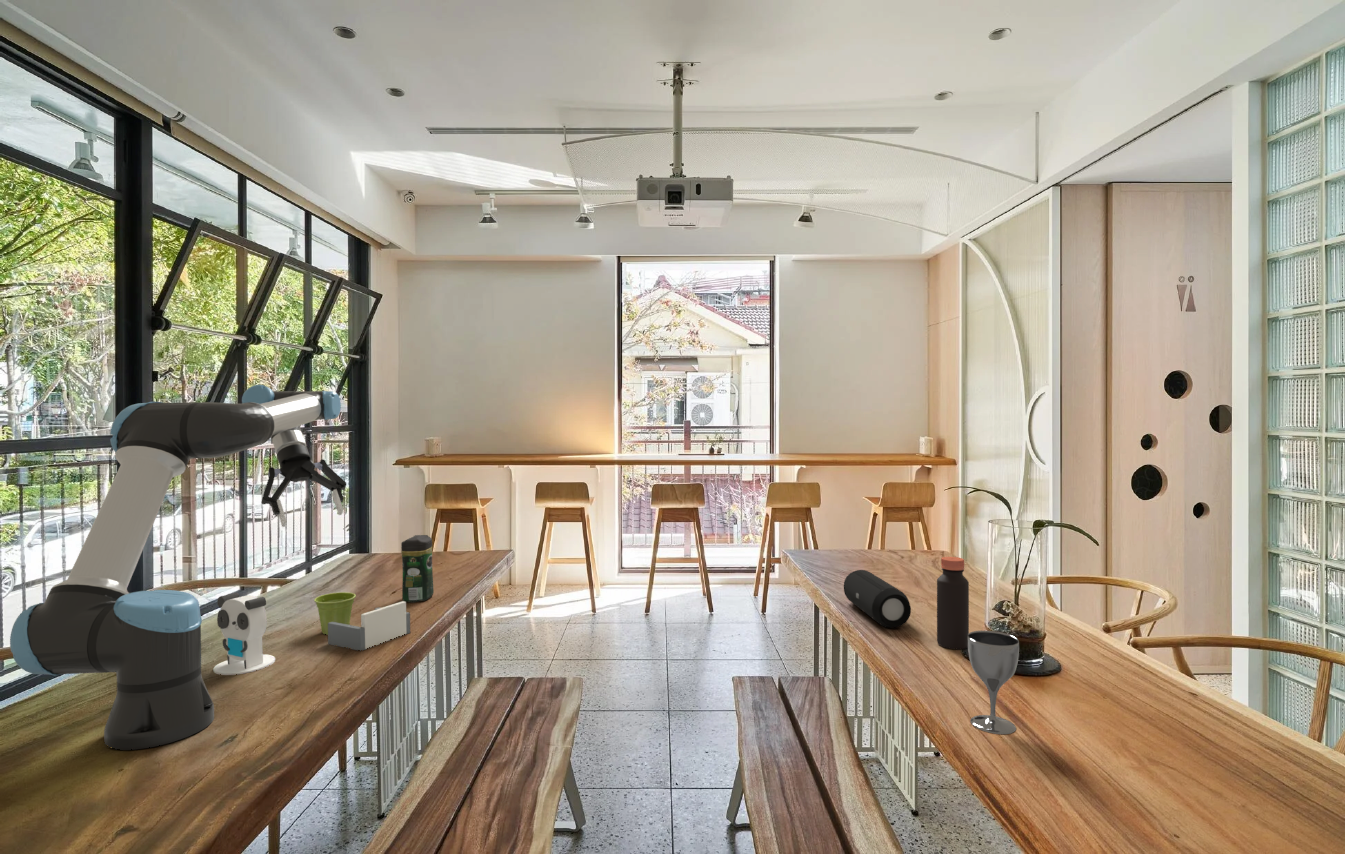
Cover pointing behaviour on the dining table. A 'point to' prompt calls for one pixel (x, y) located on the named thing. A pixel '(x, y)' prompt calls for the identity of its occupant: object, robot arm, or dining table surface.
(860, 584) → the portable speaker
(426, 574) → the coffee jar
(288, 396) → the robot arm
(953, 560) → the bottle
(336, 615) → the plant pot
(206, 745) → the dining table surface
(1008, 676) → the wine glass
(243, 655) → the panda figurine
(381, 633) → the box
